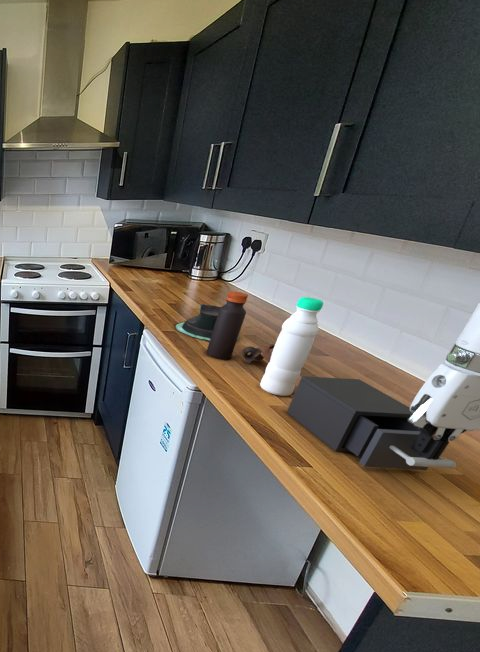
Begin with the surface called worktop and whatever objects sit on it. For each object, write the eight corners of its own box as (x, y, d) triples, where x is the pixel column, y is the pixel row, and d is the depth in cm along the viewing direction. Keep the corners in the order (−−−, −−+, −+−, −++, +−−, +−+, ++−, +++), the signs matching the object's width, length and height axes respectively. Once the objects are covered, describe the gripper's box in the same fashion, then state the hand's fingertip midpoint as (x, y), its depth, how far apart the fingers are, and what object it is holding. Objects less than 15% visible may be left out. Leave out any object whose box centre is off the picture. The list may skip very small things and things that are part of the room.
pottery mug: (268, 362, 123) (290, 346, 117) (274, 386, 118) (298, 371, 111) (231, 349, 123) (251, 333, 117) (235, 373, 118) (257, 357, 111)
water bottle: (256, 389, 105) (291, 298, 95) (262, 381, 110) (296, 293, 100) (288, 400, 101) (328, 305, 91) (293, 391, 106) (332, 299, 95)
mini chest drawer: (454, 489, 72) (478, 453, 68) (387, 485, 72) (408, 449, 69) (365, 428, 88) (381, 398, 85) (311, 425, 89) (326, 395, 86)
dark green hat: (172, 316, 157) (229, 324, 152) (172, 353, 146) (232, 363, 141) (185, 288, 145) (247, 296, 140) (186, 326, 134) (253, 336, 129)
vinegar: (225, 361, 121) (247, 298, 113) (202, 354, 126) (221, 292, 118) (234, 356, 125) (255, 294, 117) (211, 349, 130) (230, 289, 122)
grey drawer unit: (399, 455, 82) (423, 415, 78) (335, 451, 82) (356, 411, 78) (341, 415, 95) (359, 379, 91) (286, 412, 96) (302, 376, 91)
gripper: (459, 369, 61) (399, 465, 68) (562, 376, 60) (490, 471, 68) (412, 349, 67) (362, 438, 75) (504, 355, 67) (444, 444, 75)
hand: (423, 454), depth 71 cm, fingers closed
